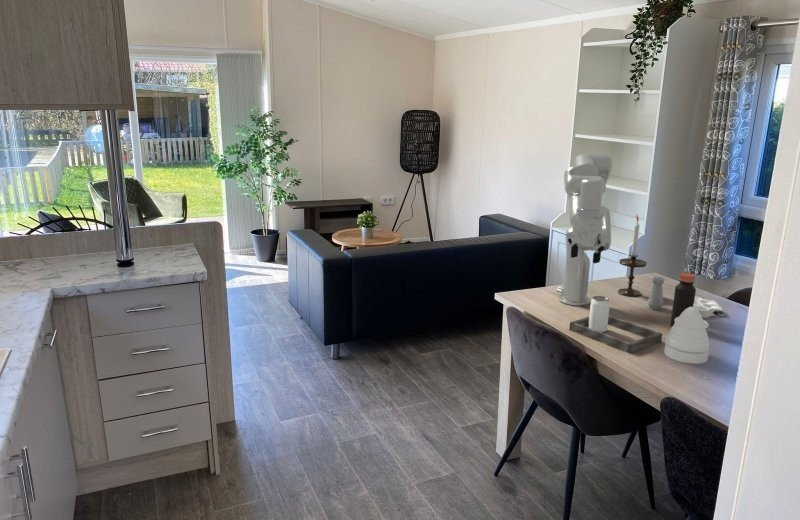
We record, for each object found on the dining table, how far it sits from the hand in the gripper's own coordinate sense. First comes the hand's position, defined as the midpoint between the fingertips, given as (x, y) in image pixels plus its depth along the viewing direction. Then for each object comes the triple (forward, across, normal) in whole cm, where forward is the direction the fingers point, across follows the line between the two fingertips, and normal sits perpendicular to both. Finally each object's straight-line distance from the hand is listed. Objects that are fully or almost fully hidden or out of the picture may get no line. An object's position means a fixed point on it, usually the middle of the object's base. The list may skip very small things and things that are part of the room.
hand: (584, 259), depth 213 cm
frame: (+24, +15, 0) cm, 29 cm away
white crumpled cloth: (+25, +19, +52) cm, 61 cm away
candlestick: (+24, -10, +47) cm, 54 cm away
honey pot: (+25, +39, +4) cm, 46 cm away
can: (+25, +8, 0) cm, 26 cm away
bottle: (+25, +24, +28) cm, 44 cm away
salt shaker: (+24, +7, +39) cm, 46 cm away
